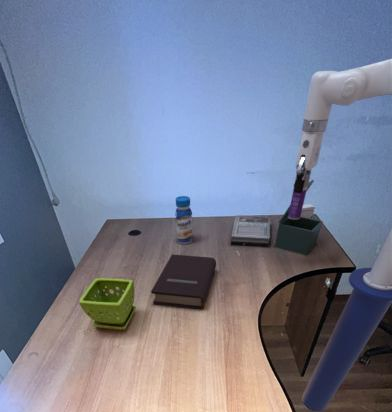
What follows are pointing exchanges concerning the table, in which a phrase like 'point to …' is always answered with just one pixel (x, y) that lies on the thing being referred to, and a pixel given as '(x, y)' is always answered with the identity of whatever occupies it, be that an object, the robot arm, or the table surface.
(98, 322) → the flower pot
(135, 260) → the table surface
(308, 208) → the ink box
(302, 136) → the robot arm
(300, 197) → the container
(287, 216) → the lid
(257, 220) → the hard drive
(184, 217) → the beverage bottle
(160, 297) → the book
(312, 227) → the chest
